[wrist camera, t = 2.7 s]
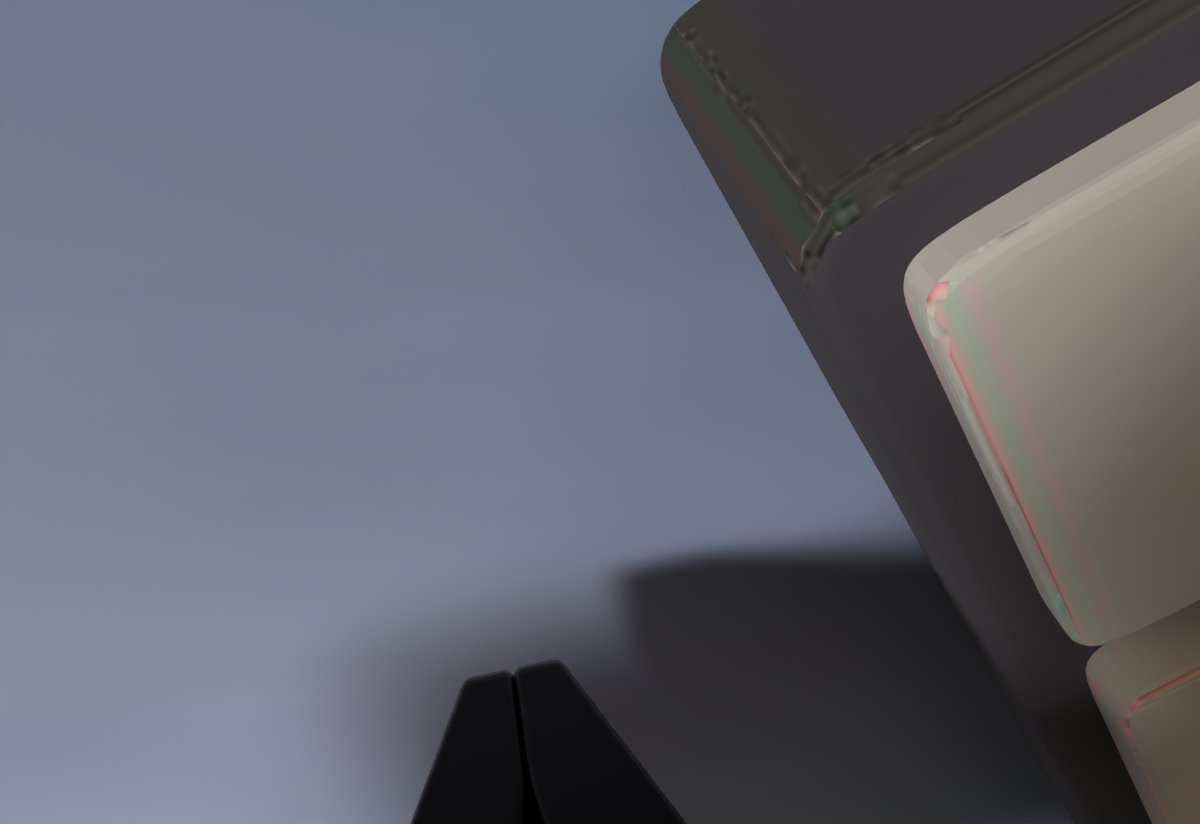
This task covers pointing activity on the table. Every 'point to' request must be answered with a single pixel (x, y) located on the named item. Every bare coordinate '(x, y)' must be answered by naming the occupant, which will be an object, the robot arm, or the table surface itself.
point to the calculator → (1000, 325)
